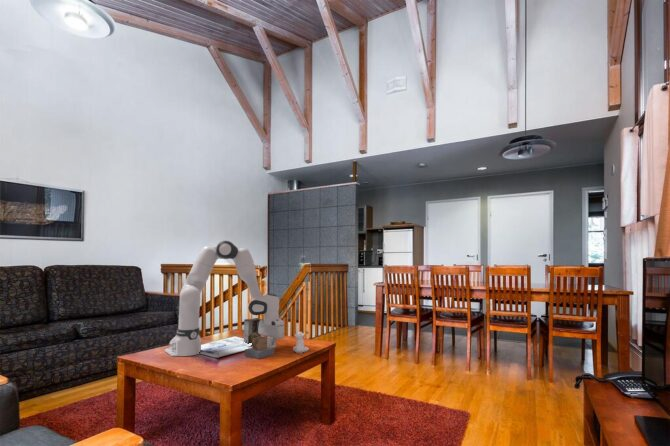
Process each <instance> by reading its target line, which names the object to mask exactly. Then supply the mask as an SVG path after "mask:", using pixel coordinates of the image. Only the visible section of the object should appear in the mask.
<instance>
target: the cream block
mask: <svg viewBox="0 0 670 446" xmlns="http://www.w3.org/2000/svg"><path fill="white" fill-rule="evenodd" d="M273 340H274V339H273V337H269V336H268V337H267V347H268V348H272V349H274V348H277V343H276V344H275V345H272V342H273Z"/></svg>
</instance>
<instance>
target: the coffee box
mask: <svg viewBox="0 0 670 446" xmlns="http://www.w3.org/2000/svg"><path fill="white" fill-rule="evenodd" d="M261 319H262V318H257V317H255V318H245V319H244V321H243V323H244V324H243V327H244V328H243V343H244V342H245V343H247V344H249V343H252V341H253V338H257V337H262V335H261V334H259V333H258V327H259V323H260V320H261Z"/></svg>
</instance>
